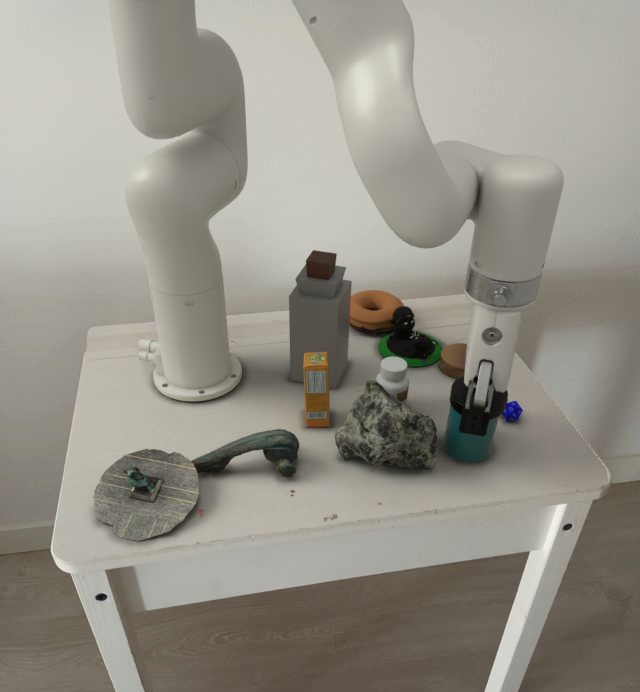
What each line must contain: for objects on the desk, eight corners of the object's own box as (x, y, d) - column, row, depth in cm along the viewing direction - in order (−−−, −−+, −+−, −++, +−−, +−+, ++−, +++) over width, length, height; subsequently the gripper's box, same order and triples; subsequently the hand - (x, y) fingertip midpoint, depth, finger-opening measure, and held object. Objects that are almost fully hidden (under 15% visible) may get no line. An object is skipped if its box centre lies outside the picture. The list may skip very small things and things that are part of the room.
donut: (341, 316, 101) (341, 338, 104) (406, 317, 101) (404, 339, 104) (343, 285, 109) (343, 306, 112) (403, 286, 109) (401, 307, 111)
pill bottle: (403, 422, 88) (409, 375, 83) (371, 418, 88) (375, 370, 83) (407, 403, 91) (412, 356, 86) (375, 399, 92) (379, 352, 87)
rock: (394, 495, 85) (438, 432, 85) (416, 508, 76) (464, 437, 77) (318, 441, 82) (364, 376, 83) (332, 448, 74) (383, 376, 74)
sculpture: (90, 466, 78) (117, 422, 74) (160, 479, 84) (190, 438, 80) (97, 551, 71) (128, 506, 67) (174, 559, 76) (207, 518, 72)
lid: (507, 392, 81) (510, 379, 80) (504, 425, 76) (507, 412, 75) (452, 383, 83) (454, 370, 82) (446, 414, 78) (448, 402, 77)
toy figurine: (403, 373, 96) (406, 339, 92) (365, 341, 103) (367, 308, 99) (456, 355, 100) (462, 322, 96) (417, 325, 107) (421, 293, 103)
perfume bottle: (290, 380, 95) (288, 264, 83) (304, 355, 100) (304, 242, 88) (335, 388, 93) (339, 272, 82) (347, 362, 98) (353, 249, 87)
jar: (440, 457, 83) (450, 403, 77) (446, 428, 87) (455, 374, 82) (488, 466, 81) (502, 412, 76) (492, 436, 86) (505, 383, 80)
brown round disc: (436, 375, 96) (437, 364, 95) (442, 351, 101) (443, 340, 100) (483, 383, 95) (485, 372, 94) (486, 358, 100) (489, 347, 99)
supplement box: (303, 412, 89) (303, 350, 83) (329, 412, 89) (330, 350, 83) (303, 428, 87) (303, 365, 80) (329, 428, 87) (331, 365, 80)
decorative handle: (293, 442, 84) (292, 411, 81) (305, 477, 79) (305, 446, 76) (174, 461, 81) (169, 430, 78) (180, 499, 76) (174, 467, 73)
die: (516, 428, 87) (505, 413, 86) (503, 423, 90) (493, 408, 88) (529, 414, 88) (519, 398, 86) (516, 409, 90) (506, 394, 89)
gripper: (536, 328, 62) (501, 467, 74) (540, 252, 75) (509, 380, 86) (457, 317, 64) (434, 454, 75) (473, 244, 77) (452, 371, 88)
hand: (475, 413), depth 81 cm, fingers closed on lid, 6 cm apart
